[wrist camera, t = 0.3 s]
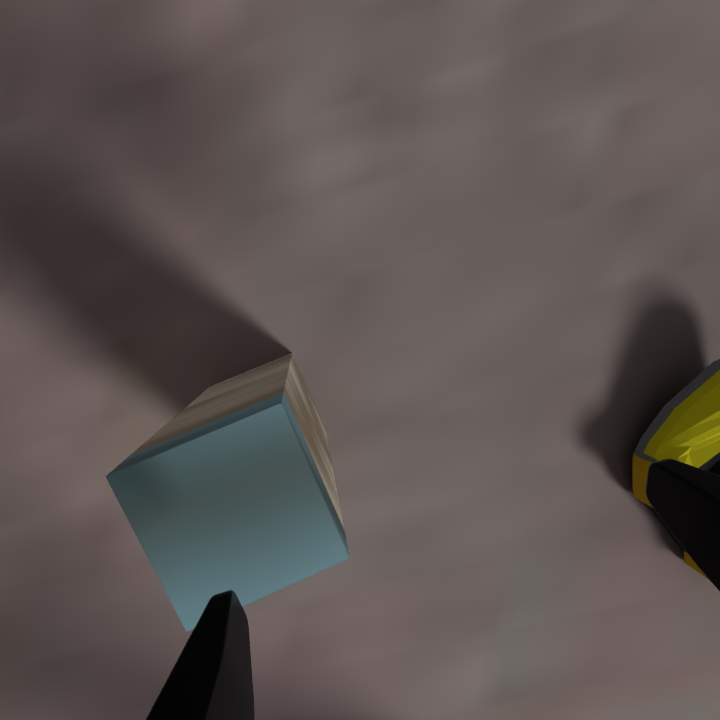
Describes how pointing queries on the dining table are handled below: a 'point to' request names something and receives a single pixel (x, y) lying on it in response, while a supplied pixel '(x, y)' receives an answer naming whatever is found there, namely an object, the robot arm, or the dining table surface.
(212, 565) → the birch block
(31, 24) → the dining table surface
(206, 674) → the robot arm
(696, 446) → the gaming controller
